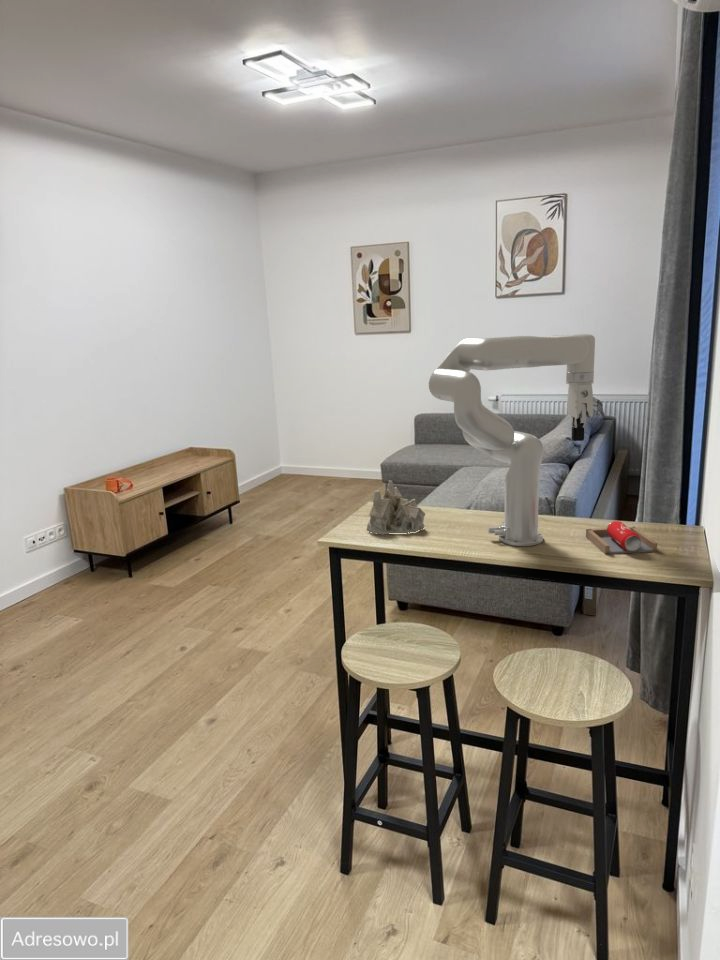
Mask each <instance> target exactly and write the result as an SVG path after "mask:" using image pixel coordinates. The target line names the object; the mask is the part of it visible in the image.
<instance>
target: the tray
mask: <svg viewBox="0 0 720 960" xmlns="http://www.w3.org/2000/svg"><path fill="white" fill-rule="evenodd" d="M627 527H628V528H630V529H631V530H632V531H633V532H635V533H636V534H637V535H638V536H639V537H640V539H641V546H640V547H639V549H637V550H636V551H627V550H625V549H624V548H623V547H621V546H620V545H619V544H618V543H617V542H616V541H615V540H613V539H612V538H611V537H610V536H609V535H608V533H607V527H605V528H603V527H602V528H587V529H585V538H586V539H587V540H588V541H590V542H591V544H593V545H594V546H595V548H596V547H597V549H598V550H599V551H601V552H602V553H603V554H604V555H616V554H617V555H618V554H619V555H620V554H634V553H636V554H637V553H649V552H650V553H651V552H652V553H653V552H657V549H658V543H657V542H656V541H655V540H654V539H652V538H651V537H650V536H648V535H647V534H645V533H644V532H643V531H641V530H640V529H638V528H637V527H635V526H627Z"/></svg>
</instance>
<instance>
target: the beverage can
mask: <svg viewBox="0 0 720 960" xmlns="http://www.w3.org/2000/svg"><path fill="white" fill-rule="evenodd" d="M628 527H629V526H627V525H626V524H625V523H623V522H622V521H619V520H614V521H611V522H609V524H608V525H607V527H606V528H607V533H608V535H609V536H610V537H611V538H612V539H613V540H615V541H616V542H617V543H618V544H619V545H620V546H621V547H623V548H624V549H625V550H627V551H636V550H637V549H639V547H640V546H641V539H640V537H639V536H638V535H637V534H636V533H635V532H633V531H632V530H631V529H630V528H628Z"/></svg>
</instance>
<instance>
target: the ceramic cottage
mask: <svg viewBox="0 0 720 960" xmlns="http://www.w3.org/2000/svg"><path fill="white" fill-rule="evenodd" d="M394 486H395V485H394V483H393V480H388V483H387V488H386V491H385V492H384V494H383V496H381V495H382V494H381V491H380V490H379V489H377V490H374V492H373V493H374V494H373V499H372V503H373V504H372V506H371V510H370V513H369V514H368V516H369V517H370V518H369V522H368V523H367V525H366V530H367V531H369V532H372V533H377V535H378V534H389V533H408V532H409V533H410V532H416V531H418V530H421V529H423V528H424V527H425V524H424V519H425V516H426V512H424V510H423V509H421V507H419V506H418V505H417V503H416V502H417V501H416V498H412V499H411V500H409V499H408V498H403V495H402V494H401V492H400V490H399V488H398V487H397V486H395V487H394ZM367 531H366V532H367ZM421 531H422V530H421Z"/></svg>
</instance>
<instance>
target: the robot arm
mask: <svg viewBox="0 0 720 960" xmlns="http://www.w3.org/2000/svg"><path fill="white" fill-rule="evenodd" d="M595 349H596V338H595V336H594V335H593V334H586V333H585V334H584V333H582V334H573V335H570V334H569V335H568V334H567V335H563V334H562V335H560V334H559V335H558V334H557V335H556V334H555V335H550V336H533V335H532V336H531V335H516V336H515V335H514V336H499V337H468V338H467V337H466V338H465V339H462V340H461V341H460V342H459V343H457V344H456V345H455V346H454V347H453V348H452V350H450V351H449V353H448V354H447V355H446V356H445V357H444V358H443V360H442V361H441V362H440V363H439V364H438V365H437V366H436V368H435V369H434V371H433V372H432V373H431V374H430V377H429V381H428V390H429V392H430V394H431V395H432V396H433V397H434V398H436V399H437V400H441V401H446V402H452V403H453V412H454V413H453V414H454V420H455V424H456V425H457V427H458V428H459V429H460V430H461V431H462V436H463V439H464V440H465V441H466V442H467V443H468V444H469V445H470V446H471V447H473V448H475V449H476V450H477V451H480V452H481V453H483V454H484V455H486V456H488V457H489V458H492V459H493V460H496V461H498V462H503V463H506V464H508V465H509V469H508V470H507V473H506V475H505V478H504V516H503V517H504V519H503V520H504V521H503V522H501V525H498V526H488V527H487V533H488V534H494V536H498V539H499V540H500V541H501V542H502V543H504V544H506V545H509V546H516V547H531V546H536V545H539V544H541V543H542V542H543V541H544V536H543V534H542V533H541V532H539V498H540V496H539V495H540V493H539V492H540V491H539V490H540V487H539V486H540V471H541V465H542V461H543V458H544V457H543V456H544V445H543V443H542V441H541V440H540V439H539V438H538V437H537V436H536V435H533V434H531V433H527V432H522V431H517V430H514V428H513V426H512V425H511V423H510V422H509V421H508V420H506V419H505V418H503V417H501V416H499V415H497V414H496V413H495V412H494V411H492V410H490V409H489V408H487V407H486V406H485V405H484V404H483V402H482V387H481V383H480V380H479V378H478V377H477V376H476V375H475V374H474V373H473V372H470V371H471V370H475V371H476V370H477V371H496V370H497V371H498V370H508V369H521V368H540V367H551V366H566V373H565V374H566V376H565V377H566V378H565V384H567V385H568V387H567V388H568V389H567V401H566V402H567V404H566V406H567V407H566V409H567V410H566V411H567V414H568V415H569V416H570V418H571V440H572V441H573V442H581V441H582V442H584V441H585V427H586V423H587V418H589V419H592V417H593V416H594V396H593V395H594V394H593V384H594V377H595V376H594V375H595V373H594V372H595V356H596V355H595V352H596V351H595ZM500 541H499V542H500Z"/></svg>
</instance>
